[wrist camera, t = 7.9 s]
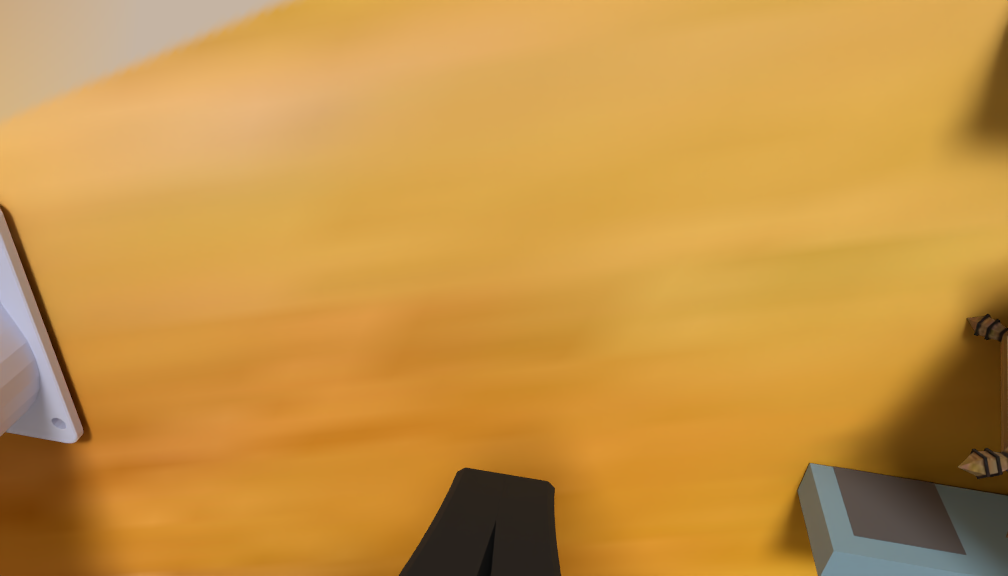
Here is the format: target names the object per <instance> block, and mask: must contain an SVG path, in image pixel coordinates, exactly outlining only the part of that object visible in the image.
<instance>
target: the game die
mask: <svg viewBox="0 0 1008 576" xmlns="http://www.w3.org/2000/svg"><path fill="white" fill-rule="evenodd" d="M967 320H968V321H969V323H970V325H971V326H972V328H973V330H974V331H975V334H974V335H976V336H978V335H981V336H984V337H985V338H984V339H986V340H989V339H995V340H998V341H1000V342H1001V452H1000V453H998V452H993V451H991V450H990V449H988V448H985V449H984V451H977V450H976V449H972V451H971V454H970V455H969V456H968V457H967V458H966V459H965V460H964V461H963V462H962V463H961V464H960V465H959V466H958V468H960V469H962V470H965V471H967V472H969V473H971V474H973V475H975V476H976V477H977V479H981V478H985V477H993V476H997V475H1002V474H1003V473H1002V472H1003V471H1007V472H1008V328H1005V327H1004V326H1003V325H1002V324H1001V322H1000V320H999V319H996V320H994V319H992V318H991V317H990V315H989V314H987V315H986V316H982V317H972V318H967ZM1006 538H1008V532H1007V535H1006Z"/></svg>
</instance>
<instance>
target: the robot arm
mask: <svg viewBox="0 0 1008 576" xmlns="http://www.w3.org/2000/svg"><path fill="white" fill-rule="evenodd" d="M5 432H8V433H13V434H19V435H25V436H30V437H36V438H41V439H47V440H52V441H58V442H63V443H74V442H76V441H77V440H78V439H79V438H80V437H81V436H82V435H83V428H82V425H81V422H80V420H79V417H78V414H77V411H76V409H75V406H74V403H73V401H72V398H71V395H70V393H69V390H68V387H67V385H66V382H65V379H64V376H63V374H62V371H61V368H60V366H59V363H58V360H57V358H56V355H55V352H54V350H53V347H52V344H51V341H50V339H49V336H48V333H47V331H46V328H45V325H44V323H43V320H42V317H41V315H40V312H39V309H38V306H37V304H36V301H35V298H34V296H33V293H32V290H31V288H30V285H29V282H28V280H27V277H26V274H25V272H24V269H23V266H22V263H21V261H20V258H19V255H18V253H17V250H16V247H15V245H14V242H13V239H12V237H11V234H10V231H9V228H8V226H7V223H6V220H5V218H4V215H3V212H2V211H1V209H0V436H2V435H3V434H4V433H5ZM554 493H555V488H554V487H553V486H552V485H551V484H550V483H549V482H548V481H542V480H536V479H530V478H524V477H518V476H512V475H506V474H500V473H494V472H488V471H482V470H476V469H470V468H464V469H462V470H460V471H458V472H457V473H456V476H455V478H454V480H453V483H452V485H451V487H450V489H449V491H448V493H447V495H446V497H445V499H444V501H443V503H442V505H441V507H440V509H439V511H438V512H437V514H436V516H435V518H434V520H433V521H432V523H431V525H430V527H429V528H428V530H427V532H426V533H425V535H424V537H423V538H422V540H421V542H420V543H419V545H418V547H417V548H416V550H415V551H414V553H413V554H412V556H411V558H410V559H409V561H408V562H407V564H406V565H405V567H404V568H403V570H402V571H401V573H400V574H399V576H561V573H560V565H559V558H558V550H557V542H556V532H555V517H554Z"/></svg>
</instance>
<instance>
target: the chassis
mask: <svg viewBox="0 0 1008 576" xmlns="http://www.w3.org/2000/svg"><path fill="white" fill-rule="evenodd" d="M798 495H799V499H800V503H801V507H802V512H803V516H804V520H805V524H806V528H807V532H808V536H809V541H810V545H811V549H812V553H813V557H814V561H815V565H816V569H817V574H818V576H1008V538H1006V535H1007V532H1008V496H1007V495H1001V494H994V493H988V492H982V491H976V490H970V489H964V488H958V487H952V486H946V485H940V484H934V483H931V482H925V481H918V480H912V479H906V478H900V477H894V476H888V475H882V474H876V473H870V472H864V471H858V470H852V469H845V468H839V467H830V466H824V465H818V464H812V463H810V464H809V466H808V468H807V471H806V473H805V475H804V477H803V480H802V482H801V484H800V486H799V489H798Z"/></svg>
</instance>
